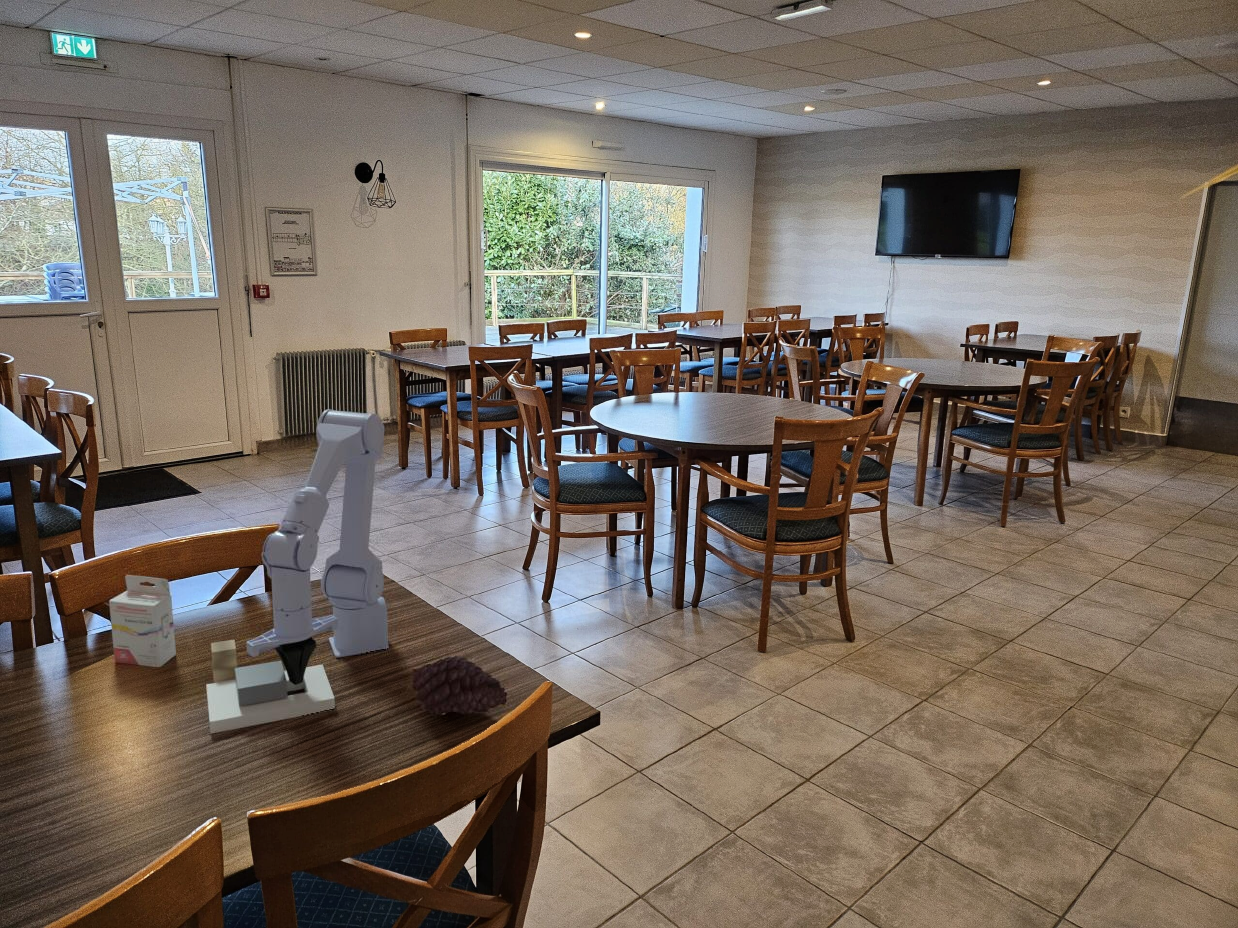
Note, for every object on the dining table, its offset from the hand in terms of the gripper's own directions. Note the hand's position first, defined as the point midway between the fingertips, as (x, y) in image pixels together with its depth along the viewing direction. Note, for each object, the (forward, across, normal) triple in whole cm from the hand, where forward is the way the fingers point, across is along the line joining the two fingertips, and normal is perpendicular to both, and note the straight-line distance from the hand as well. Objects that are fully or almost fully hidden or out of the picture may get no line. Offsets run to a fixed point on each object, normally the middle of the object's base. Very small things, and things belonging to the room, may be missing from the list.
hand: (296, 681), depth 137 cm
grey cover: (+1, +5, -2) cm, 5 cm away
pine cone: (+3, -15, +22) cm, 27 cm away
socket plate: (+3, +4, -2) cm, 5 cm away
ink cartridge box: (+3, +12, -30) cm, 32 cm away
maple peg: (+3, +5, -14) cm, 15 cm away
